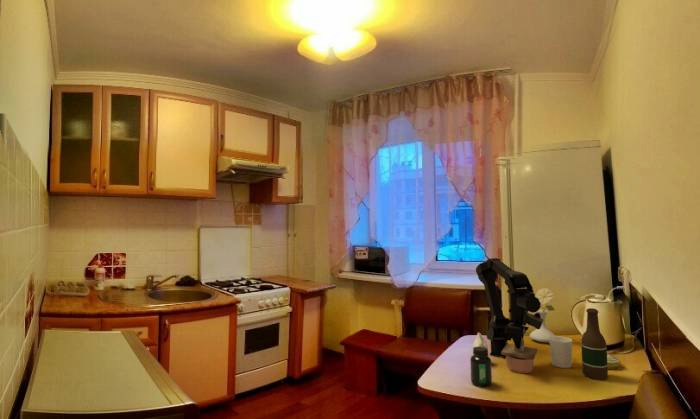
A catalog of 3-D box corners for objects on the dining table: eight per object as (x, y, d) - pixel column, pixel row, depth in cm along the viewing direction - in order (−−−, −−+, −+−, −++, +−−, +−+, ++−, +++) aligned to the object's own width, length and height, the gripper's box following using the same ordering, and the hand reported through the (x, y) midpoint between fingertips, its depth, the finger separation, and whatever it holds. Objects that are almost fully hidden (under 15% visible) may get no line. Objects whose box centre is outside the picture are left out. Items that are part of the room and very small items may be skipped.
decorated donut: (624, 365, 145) (624, 355, 145) (616, 373, 138) (616, 362, 138) (593, 358, 153) (593, 349, 153) (584, 365, 146) (584, 355, 146)
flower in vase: (524, 338, 180) (522, 285, 181) (544, 336, 183) (542, 284, 183) (544, 347, 167) (542, 290, 168) (565, 344, 170) (563, 289, 171)
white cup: (576, 369, 142) (575, 342, 142) (553, 368, 143) (552, 341, 144) (568, 361, 149) (567, 336, 150) (547, 360, 151) (546, 335, 151)
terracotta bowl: (505, 370, 142) (504, 356, 142) (509, 362, 150) (509, 349, 150) (531, 375, 137) (530, 361, 137) (534, 366, 145) (534, 353, 145)
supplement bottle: (486, 389, 126) (485, 353, 127) (467, 384, 131) (466, 349, 131) (495, 383, 131) (493, 348, 132) (476, 377, 136) (475, 344, 136)
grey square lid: (501, 354, 142) (500, 341, 142) (507, 346, 151) (506, 333, 152) (533, 360, 136) (532, 346, 136) (537, 351, 145) (536, 337, 145)
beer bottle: (577, 372, 139) (574, 307, 140) (597, 371, 139) (594, 306, 140) (592, 381, 131) (589, 312, 132) (613, 380, 132) (610, 311, 133)
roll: (487, 335, 146) (472, 334, 148) (488, 366, 146) (473, 365, 148) (487, 331, 152) (472, 330, 154) (488, 361, 151) (473, 359, 153)
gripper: (537, 314, 132) (539, 359, 132) (544, 303, 148) (545, 344, 147) (504, 310, 138) (505, 353, 138) (513, 301, 154) (515, 339, 153)
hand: (519, 347), depth 144 cm, fingers closed on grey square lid, 3 cm apart
